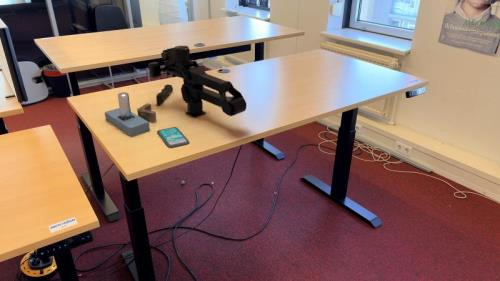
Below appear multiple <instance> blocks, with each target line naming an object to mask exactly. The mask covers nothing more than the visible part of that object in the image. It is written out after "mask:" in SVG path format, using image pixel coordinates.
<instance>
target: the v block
mask: <svg viewBox="0 0 500 281" xmlns="http://www.w3.org/2000/svg"><path fill="white" fill-rule="evenodd" d="M136 111H137V115H138V116H139V117H141V118H143V119H144V120H146V121H148V122H149V123H155V122H157V114H156V111H154V110H153V109H152V104H151V103H145V104H144V105H142V106H140V107H138V108H137V109H136Z"/></svg>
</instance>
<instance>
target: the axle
mask: <svg viewBox="0 0 500 281" xmlns="http://www.w3.org/2000/svg"><path fill="white" fill-rule="evenodd" d="M117 101H118V108H120V115H121V120H123V121H125V120H128V119H131V118H132V116H131V112H132V110H131V109H132V108H131V101H130V95H129V92H120V93H119V92H118V94H117Z"/></svg>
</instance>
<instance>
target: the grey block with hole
mask: <svg viewBox="0 0 500 281" xmlns="http://www.w3.org/2000/svg"><path fill="white" fill-rule="evenodd" d="M131 116H132V118H131V119H128V120H125V121H123V120H121V115H120V108H119V107H117V108H115V109H110V110H108V111H107V110H106V111H104V117H105V121H107V122H108V123H110V124H111V125H113V126H114V127H116V128H117V129H119V130H120V131H122V132H123V133H125V134H127V135H128V136H130V137H135V136H137V135H140V134H144V133H146V132H149V131H150V130H151V128H150V122H148V121H146V120H144V119H143V118H141V117H139V116H138V114H136V113H134V112H133V111H131Z"/></svg>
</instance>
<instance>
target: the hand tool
mask: <svg viewBox="0 0 500 281" xmlns="http://www.w3.org/2000/svg"><path fill="white" fill-rule="evenodd" d="M173 91H174V88H173V85H172V84H165V85H164V86H163V88H162V89H161V91H160V92H157V94H156V96H155V99H156V100H155V101H156V106H161V105H162V104H163V103H165V99H166V98H167V97H168V96H169V95H170V93H173Z"/></svg>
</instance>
